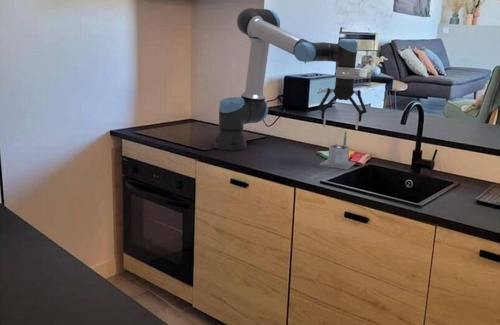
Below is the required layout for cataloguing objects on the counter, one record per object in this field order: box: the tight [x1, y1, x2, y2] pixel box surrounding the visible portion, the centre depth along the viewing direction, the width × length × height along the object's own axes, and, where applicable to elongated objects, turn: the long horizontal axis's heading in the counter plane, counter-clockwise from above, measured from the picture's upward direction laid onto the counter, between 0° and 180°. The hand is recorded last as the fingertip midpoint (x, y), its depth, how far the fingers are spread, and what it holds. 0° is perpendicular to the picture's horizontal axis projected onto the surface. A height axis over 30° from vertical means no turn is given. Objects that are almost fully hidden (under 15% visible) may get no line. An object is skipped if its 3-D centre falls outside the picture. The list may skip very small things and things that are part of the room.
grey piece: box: [327, 144, 350, 166], centre depth 223 cm, size 11×8×7 cm
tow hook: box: [342, 130, 347, 146], centre depth 238 cm, size 8×13×9 cm
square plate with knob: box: [319, 148, 356, 170], centre depth 225 cm, size 12×12×7 cm
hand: (340, 127), depth 222 cm, fingers open, 13 cm apart
